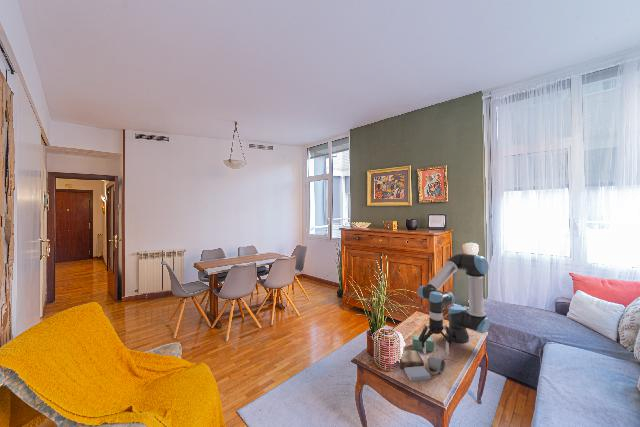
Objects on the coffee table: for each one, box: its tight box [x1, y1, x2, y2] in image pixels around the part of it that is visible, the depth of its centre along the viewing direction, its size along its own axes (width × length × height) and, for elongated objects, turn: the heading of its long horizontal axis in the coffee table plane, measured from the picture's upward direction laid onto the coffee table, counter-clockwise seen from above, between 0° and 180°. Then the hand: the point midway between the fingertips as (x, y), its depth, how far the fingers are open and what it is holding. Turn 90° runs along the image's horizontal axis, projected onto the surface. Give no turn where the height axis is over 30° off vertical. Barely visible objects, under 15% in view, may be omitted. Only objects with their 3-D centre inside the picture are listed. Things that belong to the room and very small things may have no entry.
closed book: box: [403, 365, 432, 382], centre depth 158 cm, size 12×9×2 cm
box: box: [411, 334, 435, 353], centre depth 188 cm, size 7×14×8 cm, turn 75°
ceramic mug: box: [427, 355, 446, 376], centre depth 162 cm, size 11×8×8 cm
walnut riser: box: [399, 349, 425, 370], centre depth 171 cm, size 14×14×4 cm
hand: (435, 352), depth 162 cm, fingers open, 13 cm apart
